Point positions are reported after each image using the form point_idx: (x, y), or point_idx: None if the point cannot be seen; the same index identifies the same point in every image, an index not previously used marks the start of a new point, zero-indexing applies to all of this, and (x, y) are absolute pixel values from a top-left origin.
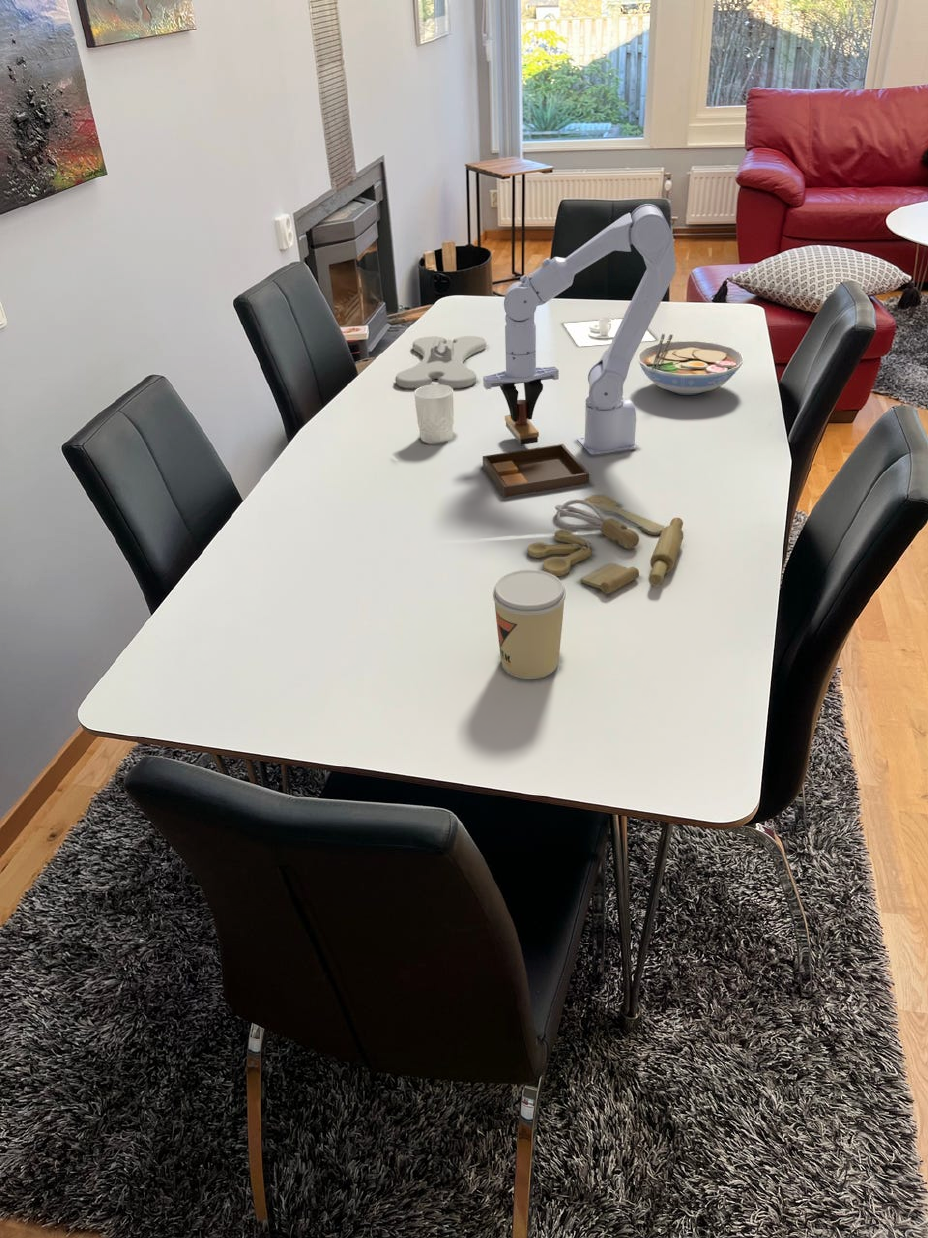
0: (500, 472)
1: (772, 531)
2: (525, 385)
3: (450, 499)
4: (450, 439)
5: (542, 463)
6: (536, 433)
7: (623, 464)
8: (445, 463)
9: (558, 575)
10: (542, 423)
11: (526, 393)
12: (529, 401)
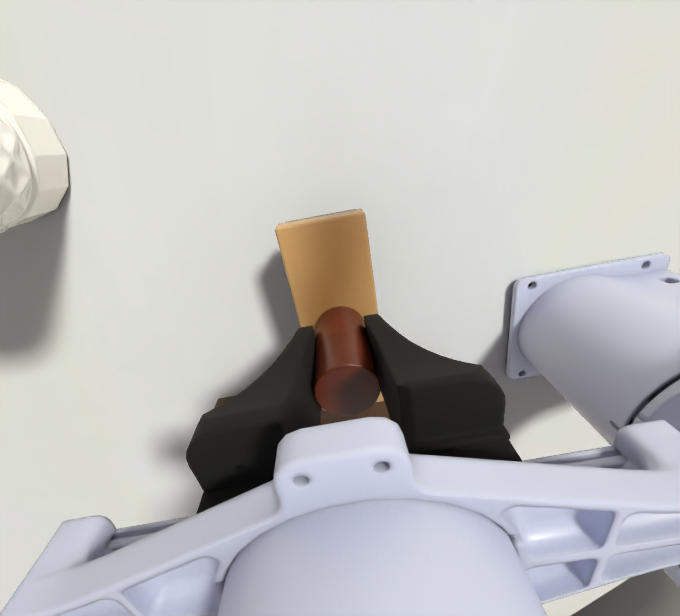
0: None
1: (617, 581)
2: (397, 412)
3: (160, 504)
4: (64, 192)
5: (372, 408)
6: (379, 400)
7: (553, 415)
8: (103, 361)
9: None
10: (459, 69)
11: (389, 392)
12: (389, 411)
